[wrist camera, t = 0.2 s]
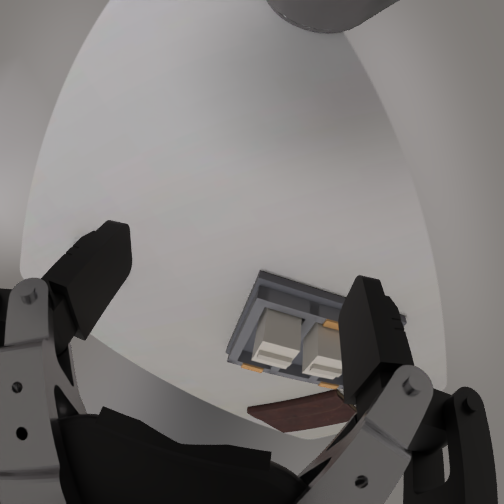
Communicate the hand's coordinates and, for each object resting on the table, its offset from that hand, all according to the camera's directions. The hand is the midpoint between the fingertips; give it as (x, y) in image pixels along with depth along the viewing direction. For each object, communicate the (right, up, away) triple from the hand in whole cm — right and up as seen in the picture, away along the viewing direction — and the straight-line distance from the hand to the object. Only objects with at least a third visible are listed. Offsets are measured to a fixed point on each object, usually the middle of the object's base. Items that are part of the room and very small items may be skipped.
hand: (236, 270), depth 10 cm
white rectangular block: (+9, -9, +25) cm, 28 cm away
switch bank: (+9, -11, +28) cm, 31 cm away
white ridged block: (+4, -7, +24) cm, 25 cm away
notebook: (+12, -32, +44) cm, 56 cm away
